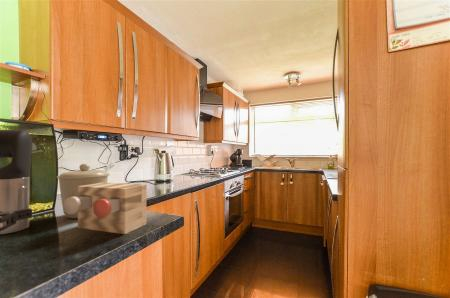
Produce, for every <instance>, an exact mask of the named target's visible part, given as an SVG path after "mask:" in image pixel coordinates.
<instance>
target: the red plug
mask: <svg viewBox="0 0 450 298" xmlns="http://www.w3.org/2000/svg"><path fill="white" fill-rule="evenodd" d="M119 210H120V198H110V199H100V200H97V201H95V203H94V205H93V211H94V214H95V215H96V216H97V217H99V218H102V217H105V216H107V215H109V214H110V213H113V212H116V211H119Z"/></svg>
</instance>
